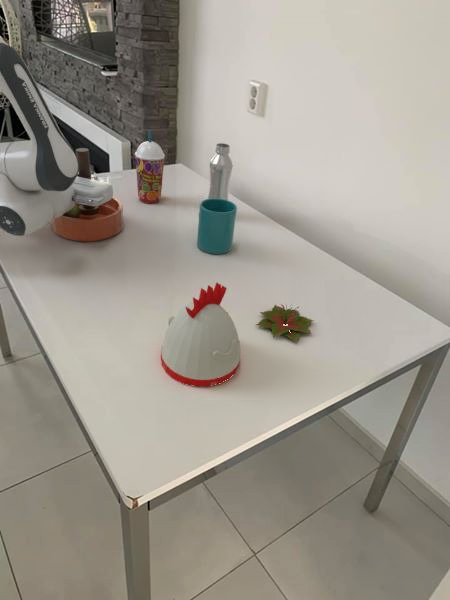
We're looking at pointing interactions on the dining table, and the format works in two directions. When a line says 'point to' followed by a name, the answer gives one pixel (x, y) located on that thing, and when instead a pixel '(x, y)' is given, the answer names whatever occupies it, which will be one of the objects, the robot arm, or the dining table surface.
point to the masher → (85, 173)
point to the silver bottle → (220, 172)
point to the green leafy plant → (285, 322)
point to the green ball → (73, 212)
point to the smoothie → (149, 171)
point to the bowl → (91, 223)
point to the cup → (216, 225)
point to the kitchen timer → (201, 342)
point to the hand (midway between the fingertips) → (87, 176)
